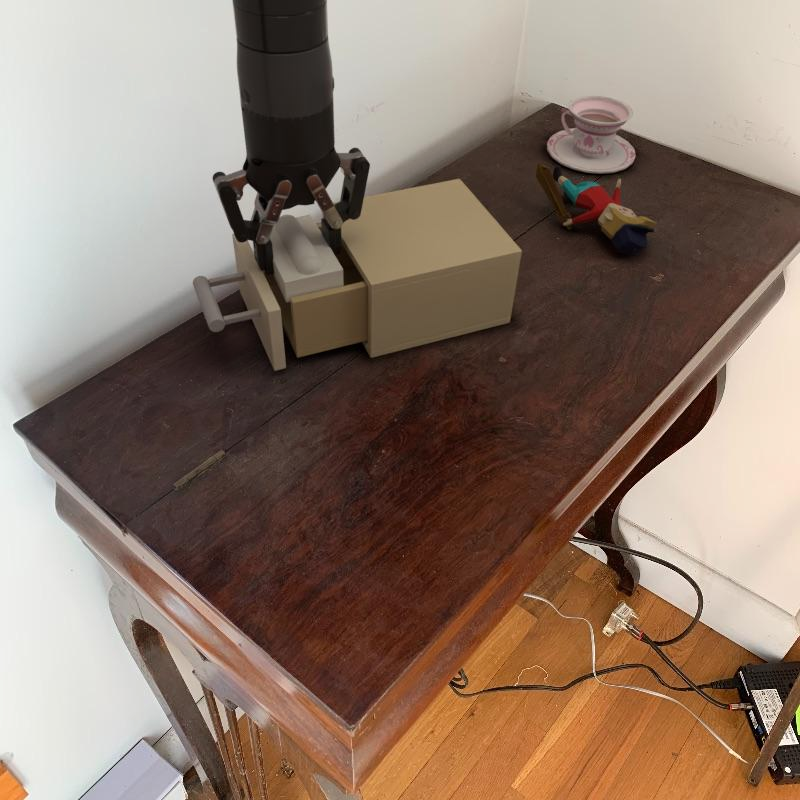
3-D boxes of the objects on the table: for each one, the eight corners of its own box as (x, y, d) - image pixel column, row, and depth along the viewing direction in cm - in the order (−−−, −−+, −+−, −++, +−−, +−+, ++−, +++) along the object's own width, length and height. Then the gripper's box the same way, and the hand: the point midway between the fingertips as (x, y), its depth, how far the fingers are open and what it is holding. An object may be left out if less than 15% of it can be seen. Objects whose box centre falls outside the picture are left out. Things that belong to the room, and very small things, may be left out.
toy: (591, 146, 98) (676, 210, 90) (577, 192, 103) (656, 257, 94) (531, 158, 94) (614, 226, 86) (519, 206, 99) (597, 275, 90)
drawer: (223, 384, 75) (212, 324, 70) (193, 302, 83) (181, 243, 78) (414, 336, 81) (417, 277, 75) (368, 264, 89) (368, 206, 84)
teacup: (637, 139, 113) (648, 96, 108) (631, 182, 105) (643, 137, 100) (552, 126, 115) (559, 83, 110) (540, 167, 106) (548, 123, 102)
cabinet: (370, 358, 79) (371, 284, 73) (325, 276, 88) (321, 204, 82) (510, 322, 84) (522, 250, 77) (453, 248, 93) (459, 178, 86)
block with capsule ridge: (343, 290, 75) (343, 258, 73) (286, 303, 74) (283, 271, 71) (312, 234, 81) (310, 203, 79) (258, 245, 80) (254, 214, 77)
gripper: (354, 61, 69) (355, 228, 82) (188, 85, 65) (216, 256, 77) (386, 99, 65) (383, 270, 77) (209, 127, 61) (235, 303, 73)
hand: (299, 262), depth 77 cm, fingers closed on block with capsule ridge, 5 cm apart
